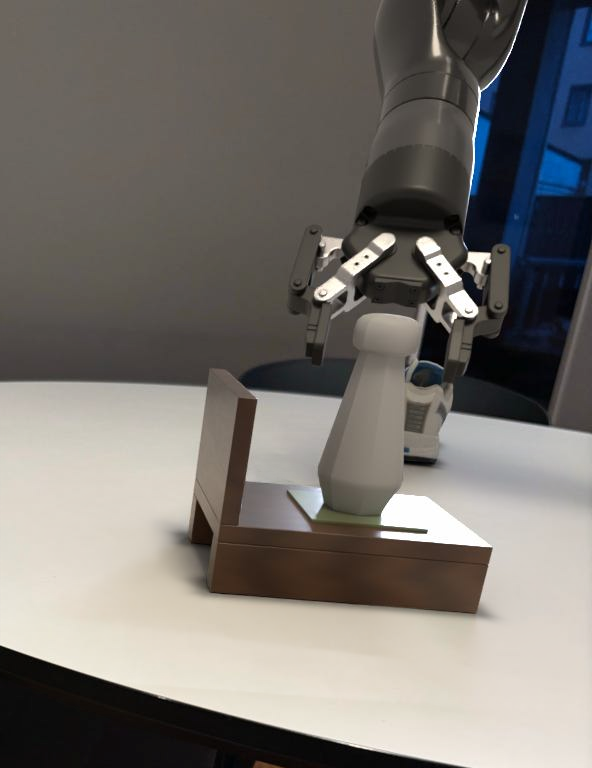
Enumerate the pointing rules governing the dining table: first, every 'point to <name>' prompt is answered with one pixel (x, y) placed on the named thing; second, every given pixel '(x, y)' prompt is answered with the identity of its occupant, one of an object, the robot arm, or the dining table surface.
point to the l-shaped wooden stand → (319, 530)
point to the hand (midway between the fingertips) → (382, 366)
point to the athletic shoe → (424, 410)
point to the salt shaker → (370, 419)
